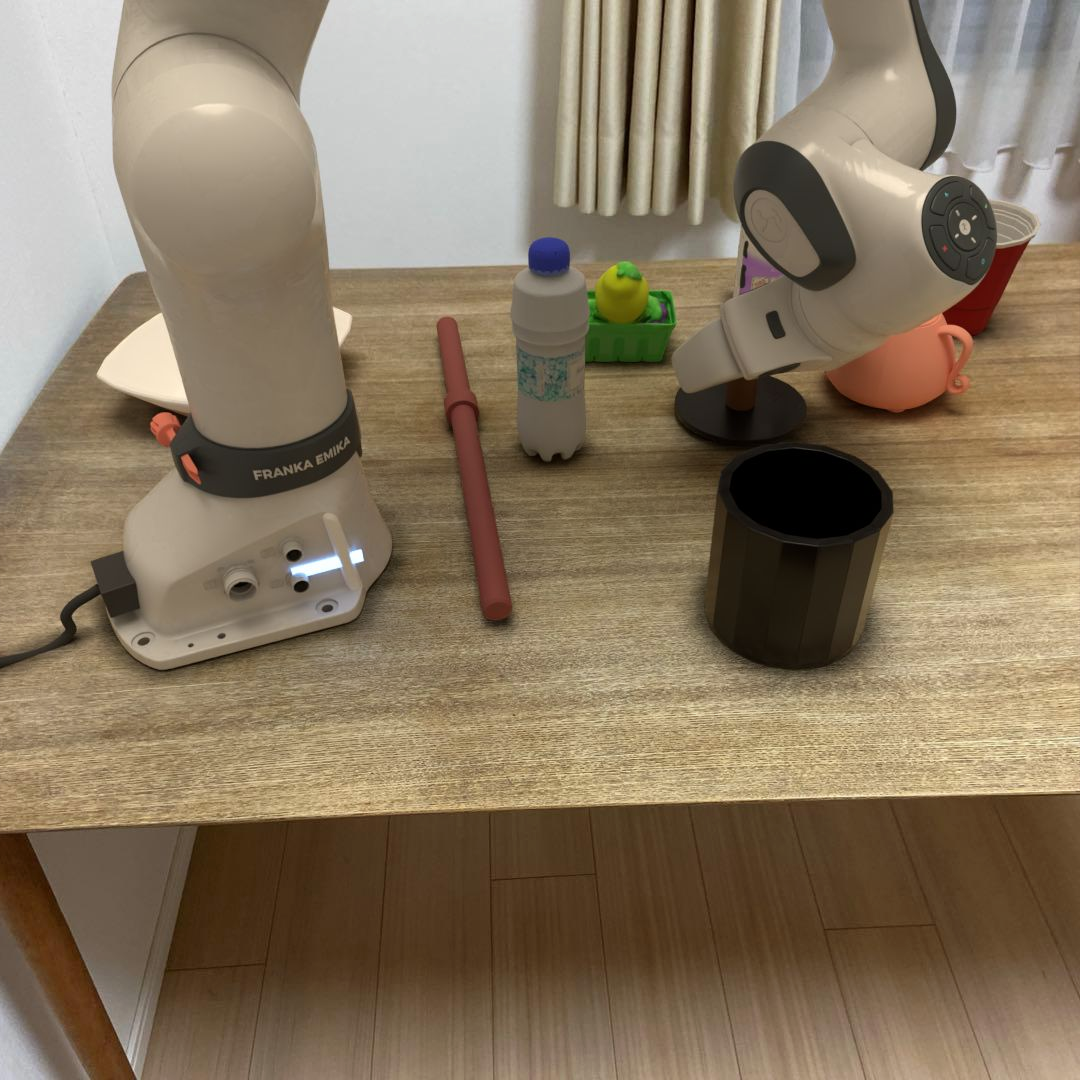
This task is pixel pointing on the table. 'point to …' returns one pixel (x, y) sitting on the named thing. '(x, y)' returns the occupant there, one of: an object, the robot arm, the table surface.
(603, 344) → the fruit basket
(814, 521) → the faceted dark cup
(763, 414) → the lid
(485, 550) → the red brown collared rod
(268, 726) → the table surface
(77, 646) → the table surface
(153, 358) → the bowl
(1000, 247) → the plastic cup
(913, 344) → the sugar bowl
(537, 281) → the bottle
